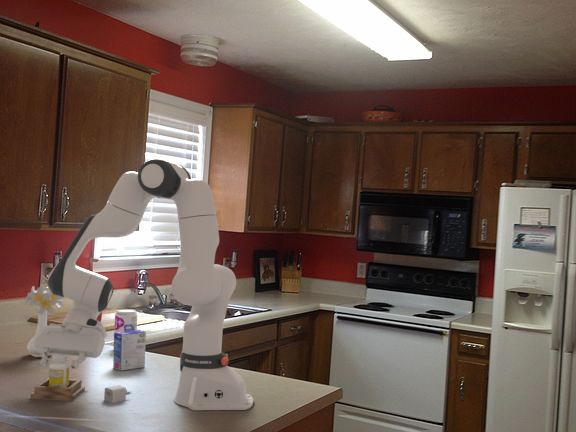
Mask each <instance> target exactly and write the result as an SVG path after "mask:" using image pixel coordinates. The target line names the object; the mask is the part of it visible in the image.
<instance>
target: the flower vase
mask: <svg viewBox="0 0 576 432" xmlns="http://www.w3.org/2000/svg"><path fill="white" fill-rule="evenodd" d="M64 300H65V297H61V296H57V295H54V294H53V293H52V292H51V291H50V289H49V287H46V285H45V284H43V283H41V284H40V286H39V287H37V289H36V290H35V287H34V285H32V287H31V290H30V291H29V292H28V293H27V295H26V297H25V302H24V303H23V305H26V304H27V303H28V304H27V306H28V307H32V306H34V305H35V306H37V310H38V311H37V313H38V314H37V325H36V326H37V327H36V331H35V334H34V335H33V337H32V338H31V339H30V340H29V341H28V343H27V345H26V347H27V350H28V352H29V353H30V354H31V357H33V356H34V358H43V357H42V352H38V351H37V350H36V348H35V347H34V341H35V340H36V338H37V337H38V335H39V334H40V332H41V331H42V330H43V328H44V327H45V326H47V325H48V313H49V314H52V315H53V314H54V313H55V310H54V308H53V306H56V307H57V308H61V307H62V306H63V302H62V301H64ZM49 356H51V353H50V354H49ZM49 356H48V357H49Z"/></svg>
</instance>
